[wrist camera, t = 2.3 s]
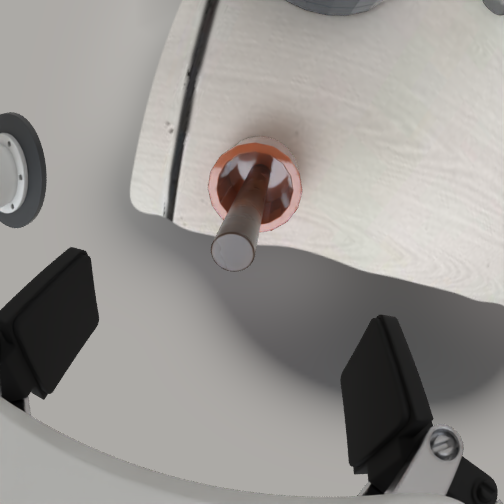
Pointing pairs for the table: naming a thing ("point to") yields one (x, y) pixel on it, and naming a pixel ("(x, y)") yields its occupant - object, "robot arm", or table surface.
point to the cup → (495, 6)
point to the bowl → (336, 6)
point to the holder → (280, 184)
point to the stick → (242, 223)
